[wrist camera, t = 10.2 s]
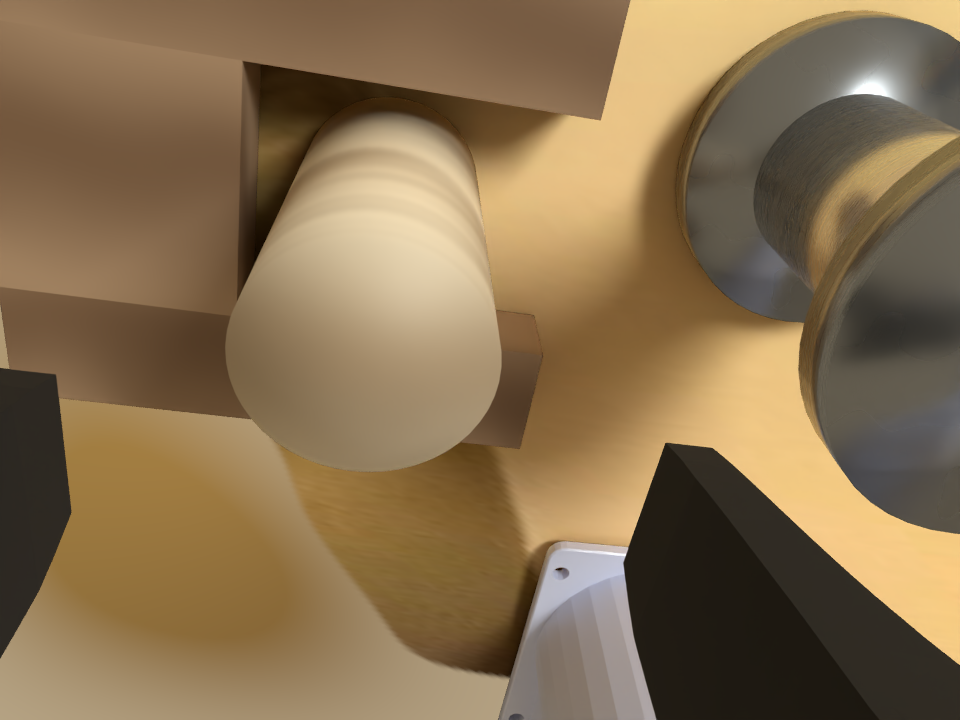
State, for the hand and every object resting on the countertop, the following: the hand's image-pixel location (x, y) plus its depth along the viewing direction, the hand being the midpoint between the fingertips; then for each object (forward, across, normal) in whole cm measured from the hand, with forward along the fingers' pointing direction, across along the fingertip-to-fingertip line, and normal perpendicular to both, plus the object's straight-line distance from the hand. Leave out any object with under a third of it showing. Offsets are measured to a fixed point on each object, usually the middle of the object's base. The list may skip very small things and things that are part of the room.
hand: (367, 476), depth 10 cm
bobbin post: (+10, -10, -2) cm, 14 cm away
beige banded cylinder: (+10, 0, 0) cm, 10 cm away
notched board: (+10, +2, 0) cm, 11 cm away
